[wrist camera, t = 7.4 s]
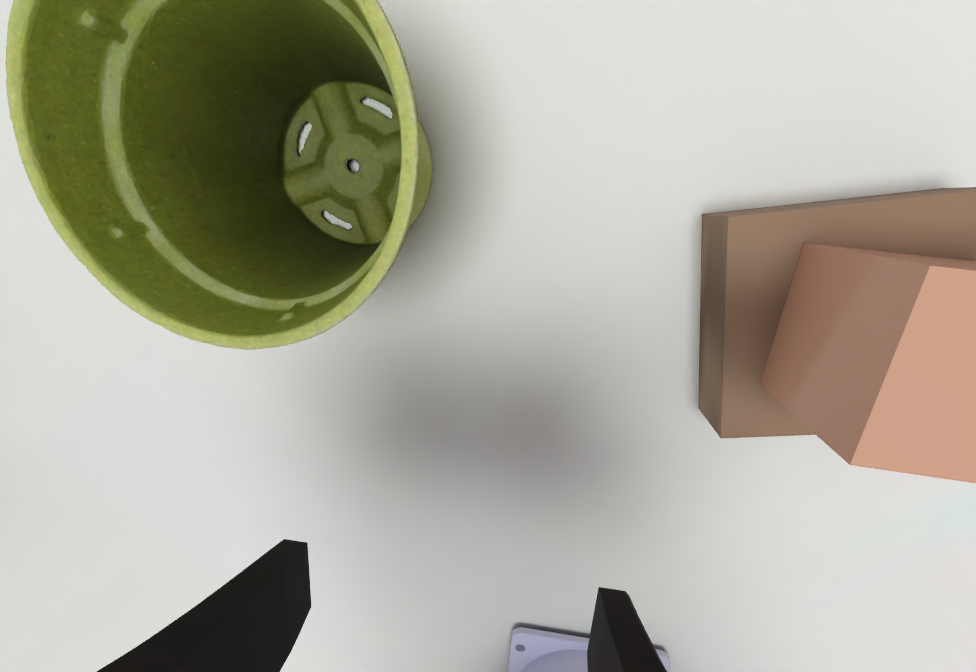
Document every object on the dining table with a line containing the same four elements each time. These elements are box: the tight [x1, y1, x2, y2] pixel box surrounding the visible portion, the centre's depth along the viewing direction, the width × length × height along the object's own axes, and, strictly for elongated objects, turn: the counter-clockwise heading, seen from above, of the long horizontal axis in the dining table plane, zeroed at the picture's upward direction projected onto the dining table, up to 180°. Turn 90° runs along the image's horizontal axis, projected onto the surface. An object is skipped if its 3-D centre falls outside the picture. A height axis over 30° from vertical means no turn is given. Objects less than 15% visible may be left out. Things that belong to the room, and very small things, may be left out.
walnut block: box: [699, 187, 976, 438], centre depth 16 cm, size 8×8×3 cm
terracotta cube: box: [760, 243, 976, 483], centre depth 13 cm, size 5×5×5 cm
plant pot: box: [6, 0, 432, 350], centre depth 14 cm, size 9×9×9 cm
